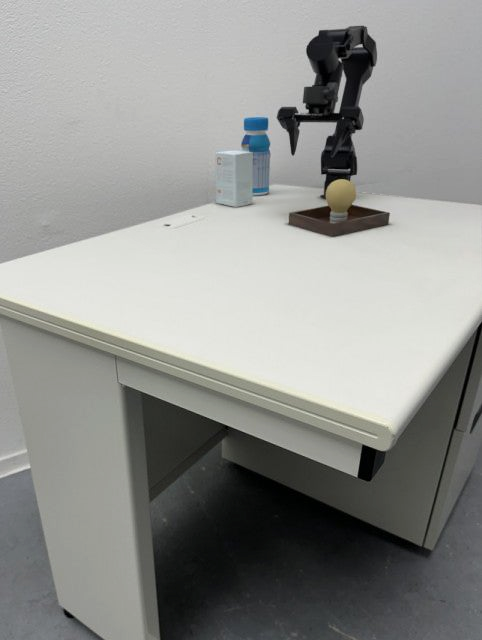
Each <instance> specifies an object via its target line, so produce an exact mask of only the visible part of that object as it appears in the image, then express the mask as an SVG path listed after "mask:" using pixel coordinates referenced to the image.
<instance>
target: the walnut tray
mask: <svg viewBox="0 0 482 640" xmlns="http://www.w3.org/2000/svg"><path fill="white" fill-rule="evenodd" d="M331 211H332V210H331V208H330V206H329V205H324V206H318V207H314V208H313V207H312V208H307V209H302V210H296V211H292V212H288V223H287V224H288V225H290V226H293V227H297V228H301V229H304V230H307V231H310V232H314V233H318V234H321V235H325V236H328V237H330V238H331V237H332V238H333V237H338V236H341V235H347V234H350V233H355V232H359V231H360V232H361V231H364V230H370V229H373V228H378V227H382V226H383V227H384V226H387V225H389V222H390V214H391V213H390V212H388V211H384V210H379V209H376V208H370V207H366V206H361V205H356V204H352V205H351V206H350V207H349V208H348V210H347V212H348V215H347V220H346V221H343V222H338V223H334V224H333V223H330V216H331V215H330V212H331Z"/></svg>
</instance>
